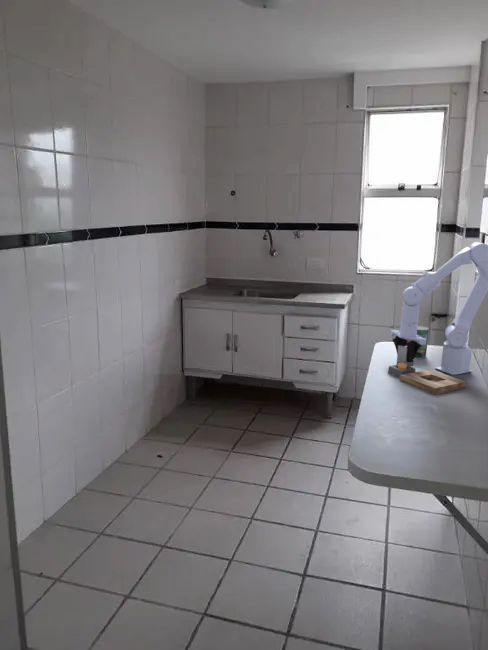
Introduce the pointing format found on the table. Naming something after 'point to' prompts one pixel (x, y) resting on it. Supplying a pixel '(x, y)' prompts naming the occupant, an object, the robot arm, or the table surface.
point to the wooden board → (432, 381)
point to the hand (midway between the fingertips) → (405, 360)
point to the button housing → (400, 370)
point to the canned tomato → (421, 353)
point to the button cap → (402, 365)
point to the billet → (403, 355)
